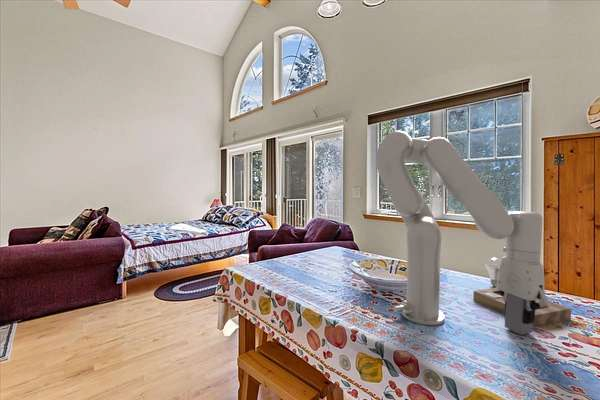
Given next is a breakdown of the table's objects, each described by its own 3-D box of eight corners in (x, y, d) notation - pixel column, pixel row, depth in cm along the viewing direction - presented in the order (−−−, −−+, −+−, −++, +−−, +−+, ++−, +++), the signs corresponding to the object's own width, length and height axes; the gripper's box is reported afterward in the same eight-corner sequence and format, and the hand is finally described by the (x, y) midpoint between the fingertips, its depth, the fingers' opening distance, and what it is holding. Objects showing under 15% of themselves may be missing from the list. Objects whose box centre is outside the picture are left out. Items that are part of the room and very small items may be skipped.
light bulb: (509, 290, 110) (510, 260, 109) (489, 289, 111) (490, 259, 111) (500, 284, 117) (501, 256, 116) (482, 283, 118) (482, 255, 117)
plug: (520, 334, 77) (523, 281, 76) (504, 326, 81) (507, 276, 80) (532, 332, 78) (535, 280, 77) (516, 324, 82) (519, 275, 81)
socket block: (532, 327, 82) (533, 314, 81) (473, 300, 101) (473, 289, 101) (570, 319, 86) (571, 307, 86) (507, 295, 105) (507, 285, 105)
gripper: (484, 249, 85) (481, 307, 86) (546, 265, 69) (541, 336, 70) (503, 248, 87) (500, 304, 88) (567, 263, 71) (562, 332, 72)
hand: (518, 318), depth 79 cm, fingers closed on plug, 4 cm apart
